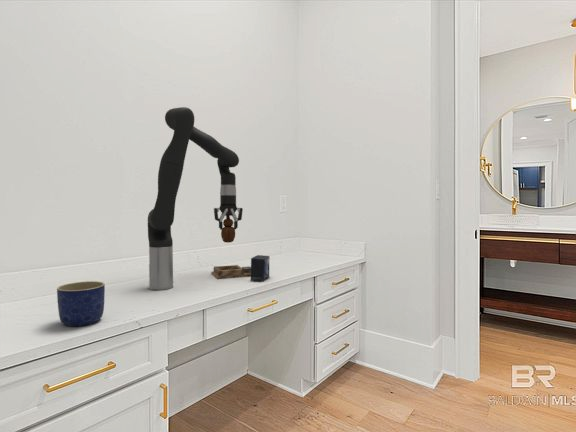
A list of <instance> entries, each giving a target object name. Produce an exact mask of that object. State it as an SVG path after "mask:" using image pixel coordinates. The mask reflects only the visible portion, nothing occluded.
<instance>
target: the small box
mask: <svg viewBox="0 0 576 432" xmlns="http://www.w3.org/2000/svg"><path fill="white" fill-rule="evenodd" d="M250 267H251V276H250V282H260V283H263V282H265V281H266V280H268V279H269V278H270V255H259V254H257V255H255V256H252V257H251V258H250Z"/></svg>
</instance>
